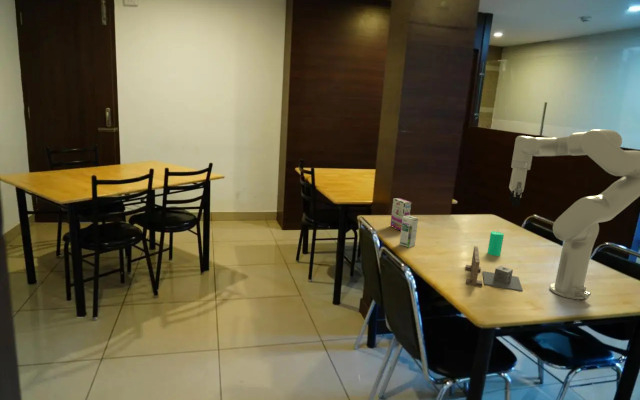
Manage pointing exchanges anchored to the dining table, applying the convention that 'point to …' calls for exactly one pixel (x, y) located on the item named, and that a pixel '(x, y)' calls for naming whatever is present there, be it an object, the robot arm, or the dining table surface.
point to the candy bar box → (399, 212)
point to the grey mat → (513, 284)
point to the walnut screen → (474, 269)
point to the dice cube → (503, 274)
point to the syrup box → (408, 231)
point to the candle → (495, 243)
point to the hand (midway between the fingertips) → (514, 203)
